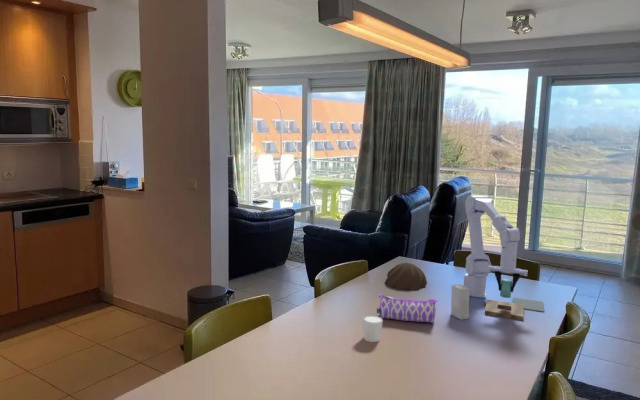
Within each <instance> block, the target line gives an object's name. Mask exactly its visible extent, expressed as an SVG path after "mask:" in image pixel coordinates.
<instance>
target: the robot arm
mask: <svg viewBox="0 0 640 400" xmlns="http://www.w3.org/2000/svg"><path fill="white" fill-rule="evenodd" d="M493 201H494V200H493V198H491V196H490V195H487V194H486V195H468V196H467V198H466V199H465V201H464V204H465V214H466V215H467V222H468V232H469V242H470V251H471V252H470V254H469V255H468V256H467V257H466V258H465V270H466V273H464V276H463V286H465V287H467V288H469V289H470V291H469V297H476V298H483V299H486V297H487V291H486V290H487V287H486V286H487V277H489V275H490V273H494V276H495V279H496V282H497V286H498V291H501V280H502V274H509V275H510V274H511V275H512V288H511V293H514V291H515V290H514V289H515V287H516V284H517V282H518V281H519V279H520V277H521V276H523V277H528V269H521V268H517V254H518V246H519V245H518V243H519V242H520V241H521V240H522V238H523V237H522V235H523V234H522V231H521V229H520V228H519V227H517V226H516V227H515V226H513V225H512V224H511V223H510V221H509V220H508V219H507V218H506V216H505V215H502V214H501V215H500V214H499V212H498V211H497V209H496V208H495V205H494V202H493ZM485 214H486V215H487V216H488V217H489V218H490V219H491V220H492V222H491V224H492V226H493V227H494V228H495V230H496V231H497V232H498V235H499V240H500V247H501V252H500V263H499V264H500V266H499V265H492V263H491V261H490V256H489V255H487V254H486V253H485V251H484V242H483V241H484V240H483V233H482V232H483V230H482V222H481V217H482V216H483V215H485Z"/></svg>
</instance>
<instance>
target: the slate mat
mask: <svg viewBox="0 0 640 400" xmlns="http://www.w3.org/2000/svg"><path fill="white" fill-rule="evenodd" d="M512 303H515V304H521V305H523V310H527V311H534V312H539V313H545V312H546V311H545V306H544V305H545V304H544V301H541V300H532V299H525V298H519V297H512Z"/></svg>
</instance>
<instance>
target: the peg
mask: <svg viewBox="0 0 640 400" xmlns="http://www.w3.org/2000/svg"><path fill="white" fill-rule="evenodd" d="M512 282H513V279H512V280H511V279H508V278H501V291H500V293H499V296H500V297H502V298H503V299H504V298H506V299H510V298H512V292H511V288H512Z"/></svg>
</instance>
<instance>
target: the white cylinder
mask: <svg viewBox="0 0 640 400" xmlns="http://www.w3.org/2000/svg"><path fill="white" fill-rule="evenodd" d="M383 319H384V318H381V317H380V316H377V315H366V316H363V317H362V328H363V329H362V330H363V340H364V341H366V342H370V343H377V342H379V341H381V336H382V329H383V321H384V320H383Z"/></svg>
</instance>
